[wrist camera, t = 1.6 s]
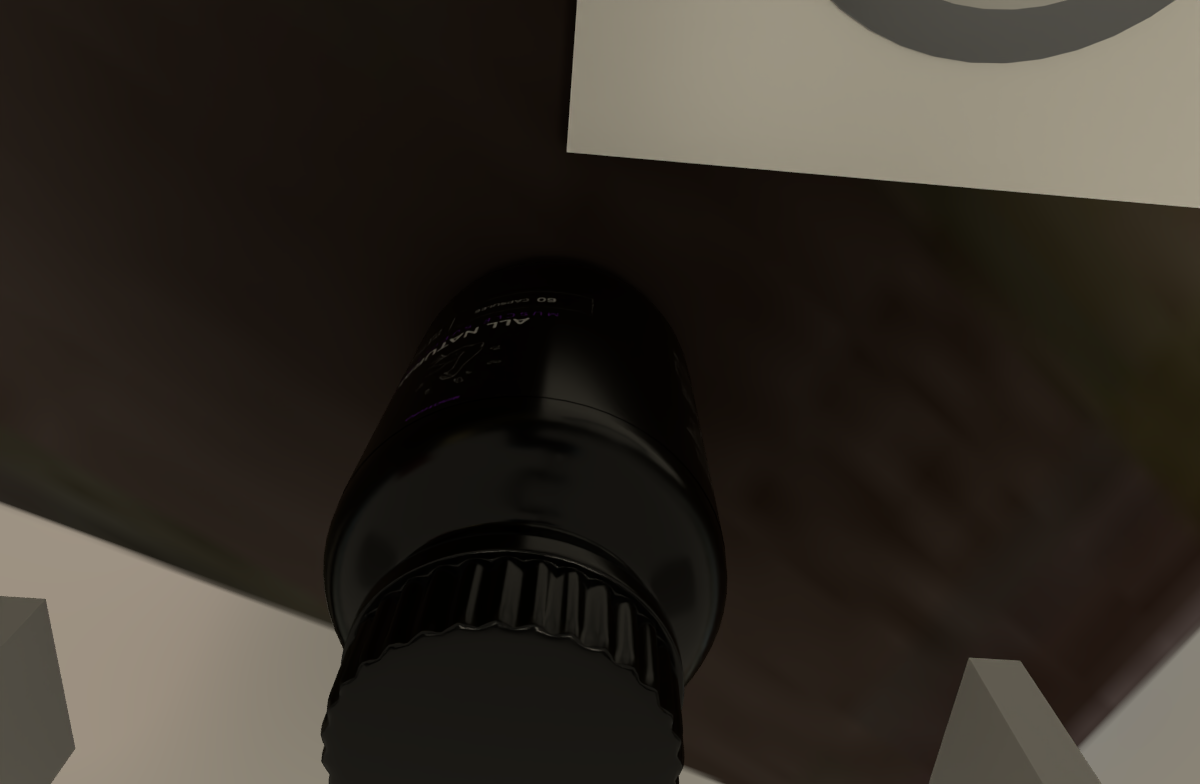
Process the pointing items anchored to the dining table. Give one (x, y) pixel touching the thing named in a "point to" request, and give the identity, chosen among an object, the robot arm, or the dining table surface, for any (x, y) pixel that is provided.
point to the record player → (902, 91)
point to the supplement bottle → (526, 547)
